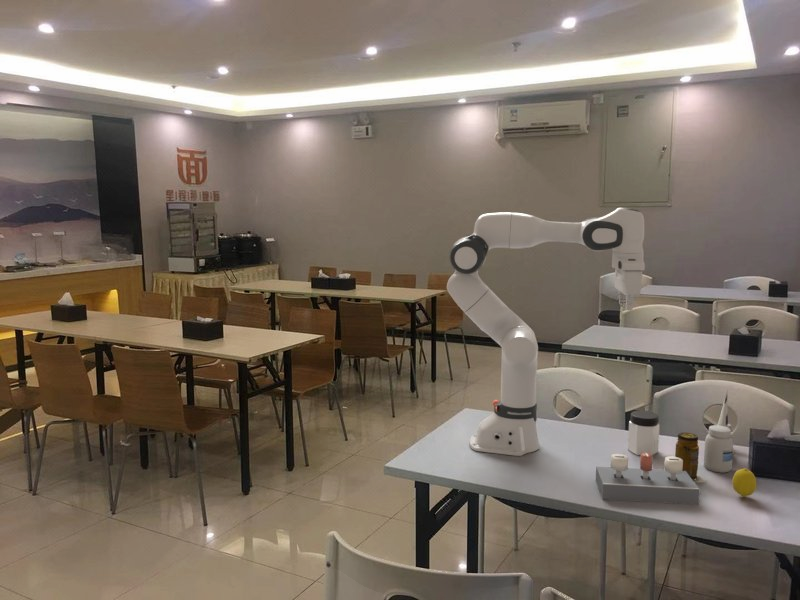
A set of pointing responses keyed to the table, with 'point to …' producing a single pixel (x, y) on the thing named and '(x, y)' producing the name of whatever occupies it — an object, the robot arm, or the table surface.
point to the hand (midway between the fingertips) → (625, 307)
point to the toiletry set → (719, 444)
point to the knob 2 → (673, 466)
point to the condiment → (689, 454)
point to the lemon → (744, 482)
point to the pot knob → (646, 464)
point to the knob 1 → (619, 463)
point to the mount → (646, 486)
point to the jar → (643, 432)
